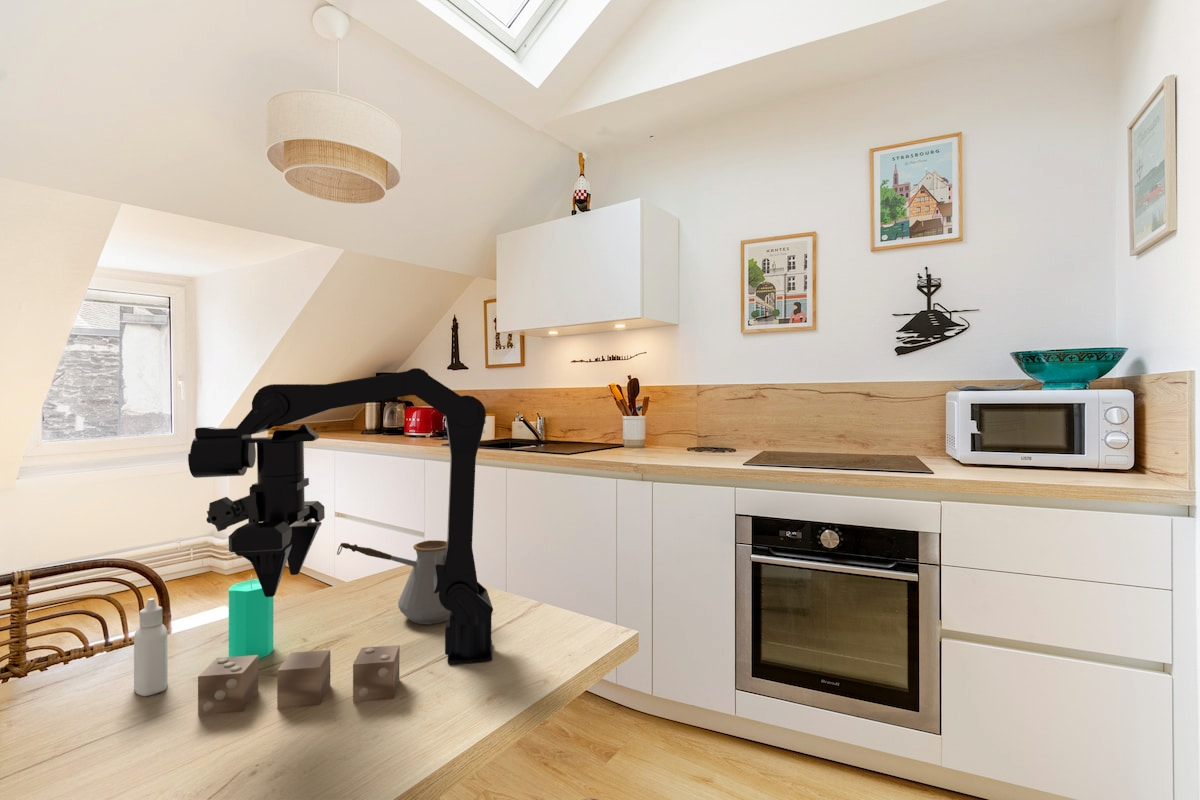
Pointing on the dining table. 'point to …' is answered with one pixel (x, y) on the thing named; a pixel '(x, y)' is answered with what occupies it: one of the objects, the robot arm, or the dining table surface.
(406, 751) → the dining table surface
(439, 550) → the coffee pot
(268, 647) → the candle
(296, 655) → the plain block
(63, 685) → the dining table surface
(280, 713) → the dining table surface
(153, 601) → the eye dropper bottle
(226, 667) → the three dot block
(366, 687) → the two dot block
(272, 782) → the dining table surface
